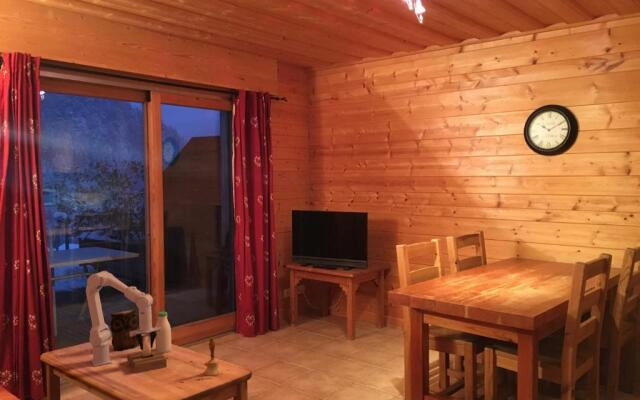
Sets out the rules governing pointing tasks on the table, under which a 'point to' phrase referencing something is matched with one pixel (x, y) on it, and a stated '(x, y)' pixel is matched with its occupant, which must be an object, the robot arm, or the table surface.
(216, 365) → the hand bell
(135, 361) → the walnut holder
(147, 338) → the cream peg
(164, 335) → the milk bottle
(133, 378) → the table surface
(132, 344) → the owl
